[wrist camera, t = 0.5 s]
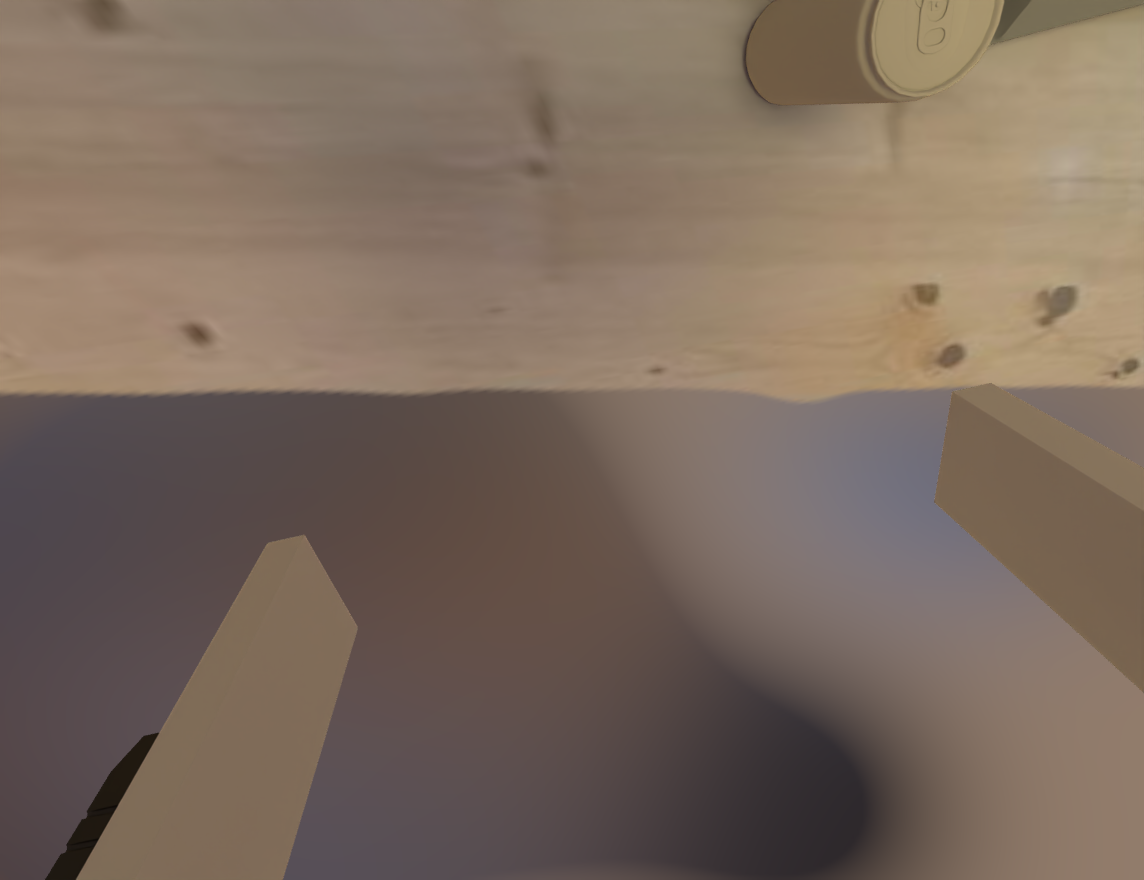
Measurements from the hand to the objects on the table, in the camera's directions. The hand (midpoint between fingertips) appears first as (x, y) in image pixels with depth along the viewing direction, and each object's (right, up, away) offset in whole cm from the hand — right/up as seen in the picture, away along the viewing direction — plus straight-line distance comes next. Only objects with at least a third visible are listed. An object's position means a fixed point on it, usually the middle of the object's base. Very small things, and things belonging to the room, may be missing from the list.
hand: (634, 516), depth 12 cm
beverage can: (+10, +22, +18) cm, 30 cm away
